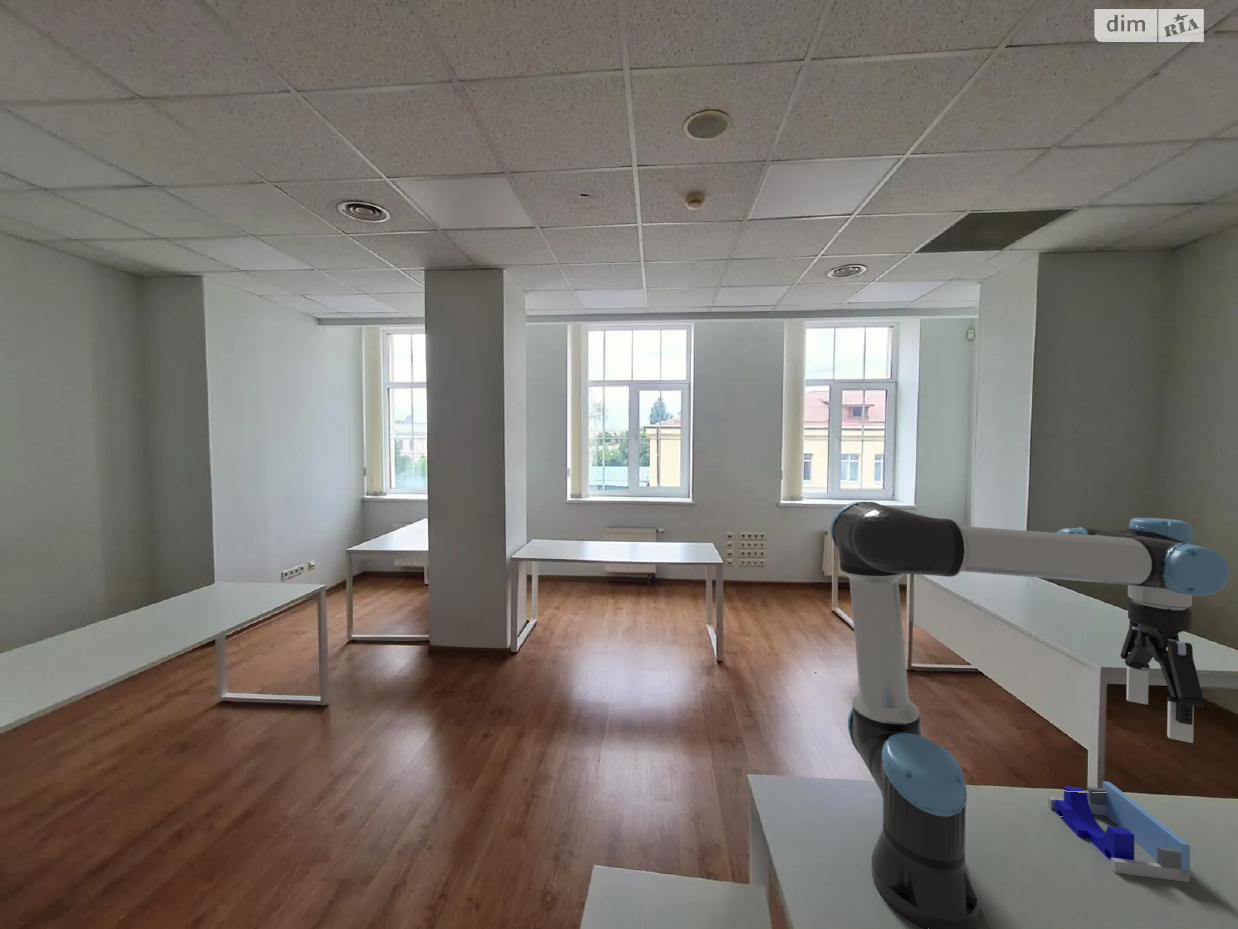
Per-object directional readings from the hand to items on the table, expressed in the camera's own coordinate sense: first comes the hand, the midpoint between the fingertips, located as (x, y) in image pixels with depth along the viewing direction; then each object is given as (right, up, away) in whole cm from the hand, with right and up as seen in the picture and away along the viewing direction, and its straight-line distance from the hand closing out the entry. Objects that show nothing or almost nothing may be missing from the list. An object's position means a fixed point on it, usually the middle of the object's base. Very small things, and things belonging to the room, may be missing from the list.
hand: (1157, 719), depth 83 cm
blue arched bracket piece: (-7, -26, +5) cm, 27 cm away
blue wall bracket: (-4, -25, +4) cm, 26 cm away
